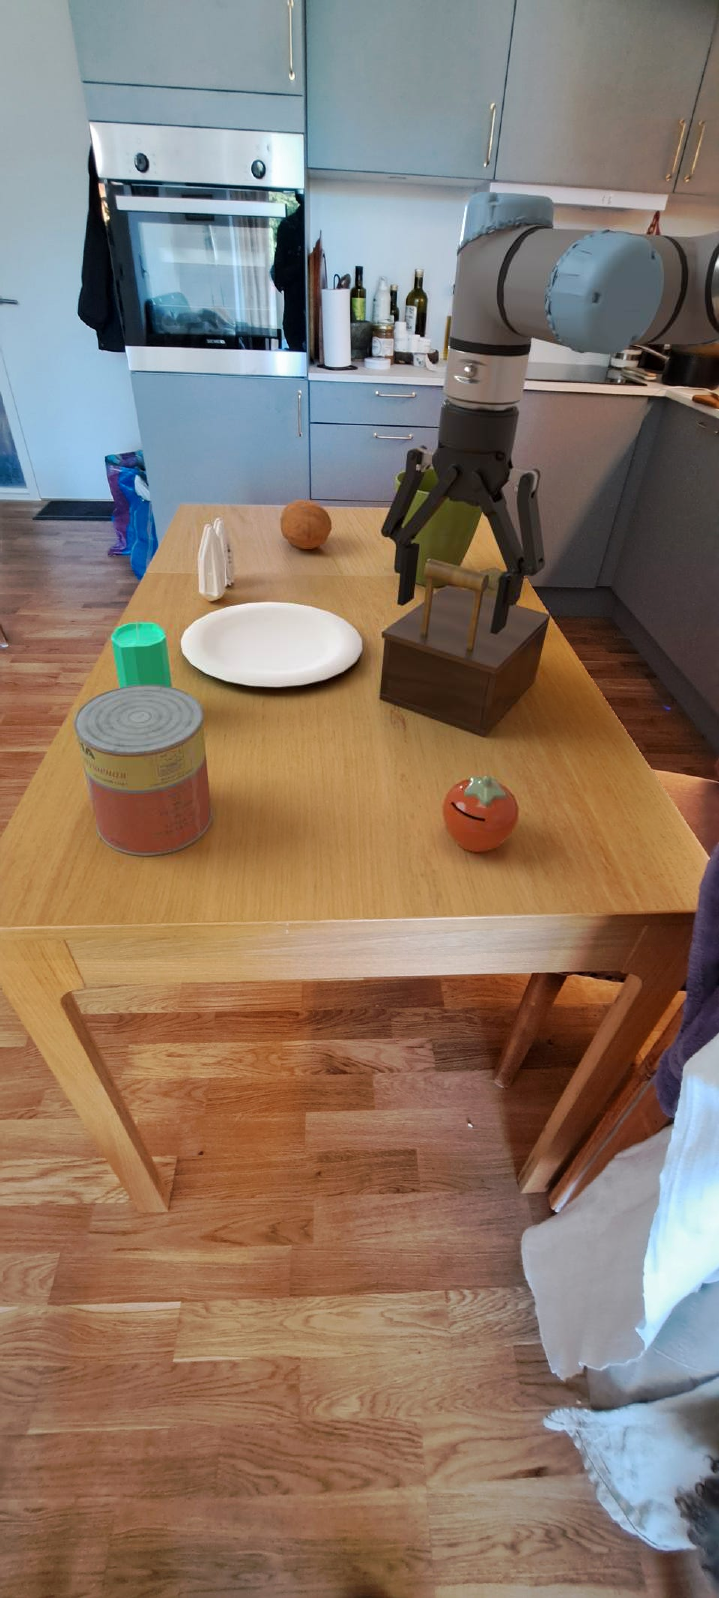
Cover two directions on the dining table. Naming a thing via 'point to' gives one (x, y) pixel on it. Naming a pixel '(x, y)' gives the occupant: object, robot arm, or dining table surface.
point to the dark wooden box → (457, 685)
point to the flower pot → (441, 528)
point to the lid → (464, 621)
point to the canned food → (146, 768)
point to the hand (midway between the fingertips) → (450, 615)
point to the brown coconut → (305, 524)
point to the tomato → (480, 813)
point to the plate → (271, 645)
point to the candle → (141, 655)
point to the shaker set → (215, 561)
